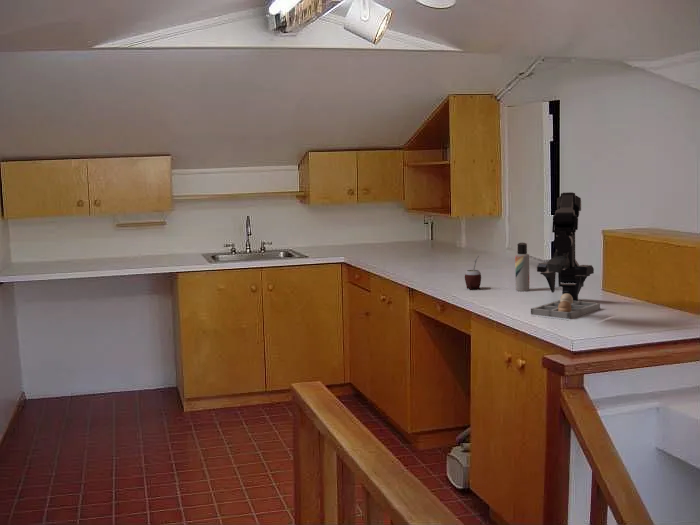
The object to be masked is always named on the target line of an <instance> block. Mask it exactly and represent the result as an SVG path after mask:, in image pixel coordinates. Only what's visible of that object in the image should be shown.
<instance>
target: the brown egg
mask: <svg viewBox="0 0 700 525" xmlns="http://www.w3.org/2000/svg"><path fill="white" fill-rule="evenodd" d="M558 311H562V312H571V304H570V303H569V302H568V301H562V302H560V303H559V305H558Z"/></svg>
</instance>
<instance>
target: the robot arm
mask: <svg viewBox="0 0 700 525" xmlns="http://www.w3.org/2000/svg"><path fill="white" fill-rule="evenodd" d="M556 200H557V201H556V210H555V213H554V215H552V226H551V228H552V230H551V233H556V234H555V238H554V241H553V245H554V248H555V251H553V252H554V253H553V257H552V258H550V259H549V260H548V261H546V262H545V261H544V262H540V263H538V264H537V265H536V272H537V273H539V274H540V275H543V277H545V279H546V281H547V283H548V284H547V285H548V287H549V288H550V291H551V293H554V292H555V289H556V277H557V276H558V283H557V284H558V288H560V287H562V294H561V296H562V295H563V294H565V293H568V294H570V295H571V296H572V298H573V301H582V300H581V299H579V293H580V292H581V290H582V288H583V287H584V286H585V285H584V284H585V281H586V279H587V277H589V276H591V275H593V274H594V273H595V272H594V270H595V268H594V267H593V265H592V264H590V265H589V264H581V265H580V264H579V262H578V261H577V259H576V232H577V231H578V228H579V216H580V212H581V211H582V198H581V197H580V196H578V195H577V194H576V192H572V191H571V192H562V193H560V195H559V197H557V199H556ZM557 273H558V275H557V276H556V274H557ZM582 302H583V301H582Z"/></svg>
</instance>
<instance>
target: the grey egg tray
mask: <svg viewBox="0 0 700 525" xmlns="http://www.w3.org/2000/svg"><path fill="white" fill-rule="evenodd" d="M559 303H560V299H559V300H556V301H553V302H548V303H546V304H542V305H539V306H535V307H532V308H530V315H531V316H539V317H543V318H545V319H547V318H550V317H551V319H553V320H555V318H556V319H560V320H561V321H562V320H567V319H568V320H571V319H574V318H577V317H580V316H583V315H585V314H590V313H592V312H595V311H598V310H601V303H599V302H591V301H581V300H580V301H573V303H572V304H571V312H562V311H558V305H559Z"/></svg>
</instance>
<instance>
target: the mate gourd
mask: <svg viewBox="0 0 700 525" xmlns="http://www.w3.org/2000/svg"><path fill="white" fill-rule="evenodd" d="M479 257H480V255H477V257H475V259H474V261H473V262H474V264H473V268H472V269H469V270H465V274H464V282H465V285H466V288H470V289H469V291H473V290H477V289H480V290H481V282H482V274H481V272H480V270H478V269H476V263H477V260H478V258H479ZM472 289H473V290H472Z"/></svg>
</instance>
